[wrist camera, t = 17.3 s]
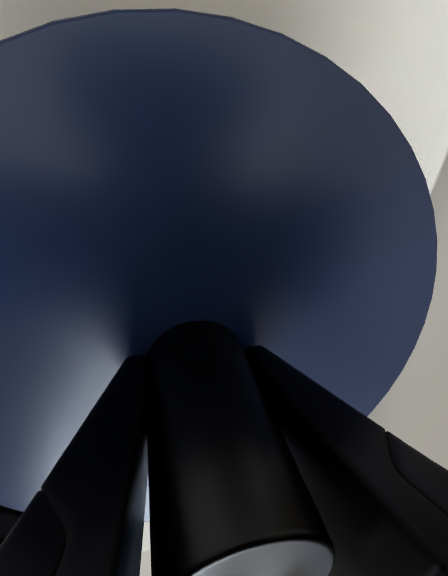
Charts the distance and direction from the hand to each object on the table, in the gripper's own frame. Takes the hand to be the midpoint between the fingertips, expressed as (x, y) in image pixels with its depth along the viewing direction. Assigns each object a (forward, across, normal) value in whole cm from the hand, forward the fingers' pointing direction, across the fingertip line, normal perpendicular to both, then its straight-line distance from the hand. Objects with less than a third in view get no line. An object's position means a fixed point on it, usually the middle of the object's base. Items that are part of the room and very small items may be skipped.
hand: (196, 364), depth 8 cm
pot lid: (+1, 0, 0) cm, 1 cm away
